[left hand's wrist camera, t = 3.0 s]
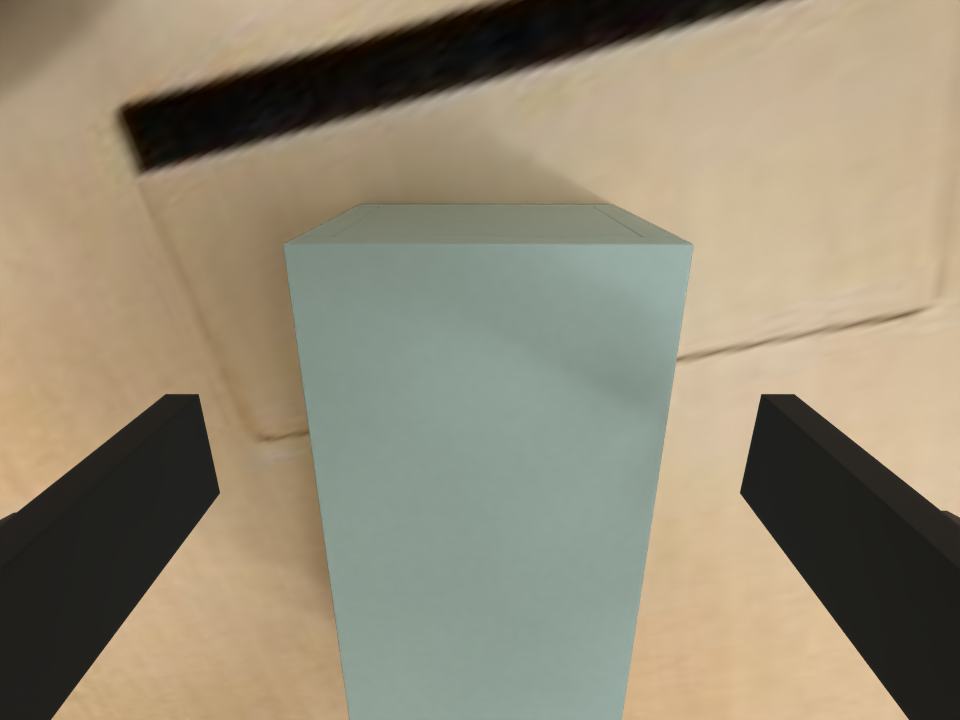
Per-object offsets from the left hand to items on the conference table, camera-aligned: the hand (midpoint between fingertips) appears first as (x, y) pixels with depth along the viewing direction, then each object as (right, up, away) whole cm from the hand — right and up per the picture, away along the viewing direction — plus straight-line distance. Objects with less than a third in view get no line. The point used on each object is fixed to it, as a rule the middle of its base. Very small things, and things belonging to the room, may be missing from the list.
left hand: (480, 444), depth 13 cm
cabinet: (0, -2, +13) cm, 14 cm away
